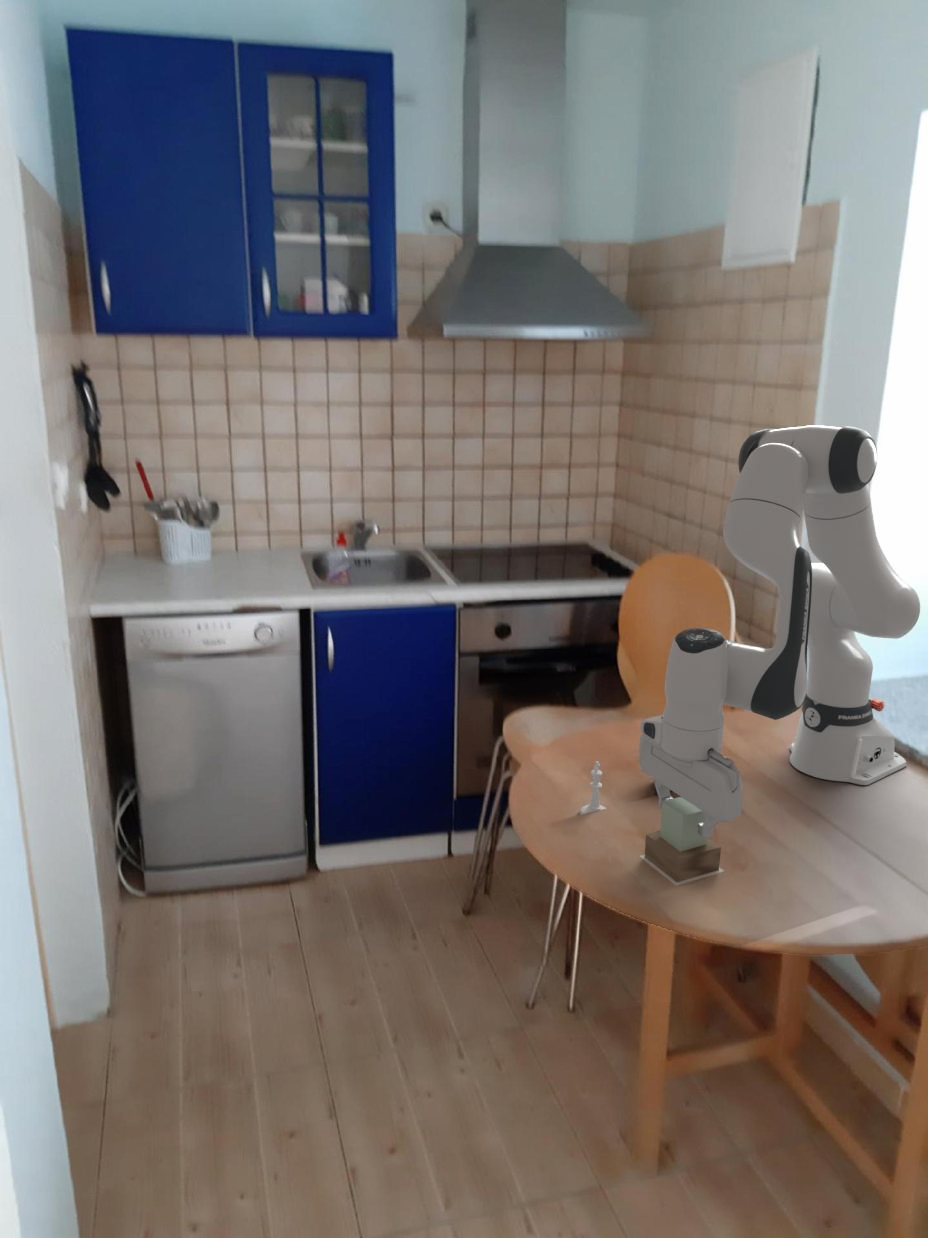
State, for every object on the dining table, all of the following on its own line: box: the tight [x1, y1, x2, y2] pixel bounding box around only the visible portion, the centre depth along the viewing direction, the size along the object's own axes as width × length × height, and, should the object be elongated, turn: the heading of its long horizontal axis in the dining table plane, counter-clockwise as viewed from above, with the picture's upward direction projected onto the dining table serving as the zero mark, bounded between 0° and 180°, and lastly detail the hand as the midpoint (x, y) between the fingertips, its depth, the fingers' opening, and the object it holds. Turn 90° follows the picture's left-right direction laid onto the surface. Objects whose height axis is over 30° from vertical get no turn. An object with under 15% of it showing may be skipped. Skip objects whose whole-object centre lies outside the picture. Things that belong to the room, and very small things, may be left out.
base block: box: [644, 830, 722, 882], centre depth 146 cm, size 8×8×4 cm
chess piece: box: [579, 760, 607, 816], centre depth 163 cm, size 5×5×10 cm
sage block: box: [659, 796, 707, 852], centre depth 145 cm, size 5×5×6 cm
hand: (684, 821), depth 145 cm, fingers open, 8 cm apart
